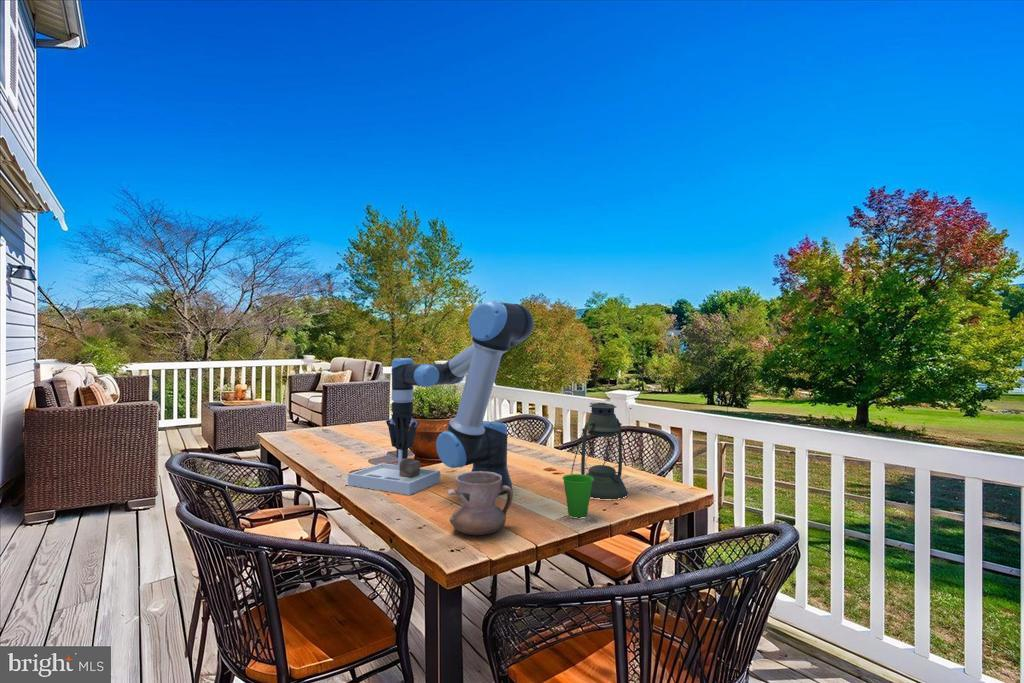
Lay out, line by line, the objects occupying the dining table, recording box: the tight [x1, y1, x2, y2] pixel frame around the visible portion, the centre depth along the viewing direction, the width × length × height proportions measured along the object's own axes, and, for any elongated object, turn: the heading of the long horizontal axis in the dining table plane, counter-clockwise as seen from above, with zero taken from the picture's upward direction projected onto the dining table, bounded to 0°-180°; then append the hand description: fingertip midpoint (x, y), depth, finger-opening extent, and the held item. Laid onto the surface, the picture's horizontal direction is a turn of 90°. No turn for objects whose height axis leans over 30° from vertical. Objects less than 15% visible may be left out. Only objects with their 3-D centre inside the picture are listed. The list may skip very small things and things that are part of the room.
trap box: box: [347, 462, 441, 496], centre depth 176 cm, size 26×18×4 cm
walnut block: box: [399, 458, 421, 478], centre depth 178 cm, size 5×5×5 cm
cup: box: [562, 473, 594, 518], centre depth 145 cm, size 9×9×11 cm
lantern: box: [570, 402, 629, 499], centre depth 168 cm, size 21×18×30 cm
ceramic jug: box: [446, 471, 514, 536], centre depth 133 cm, size 18×14×14 cm
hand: (402, 467), depth 179 cm, fingers closed
